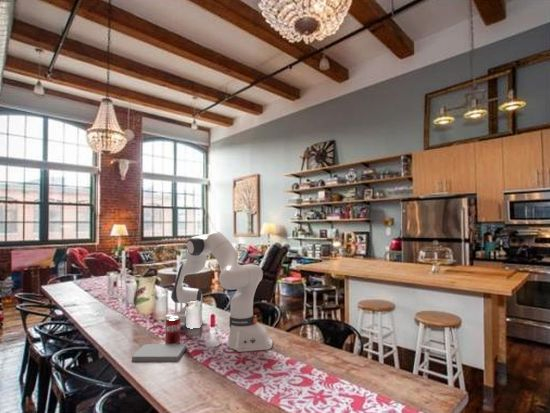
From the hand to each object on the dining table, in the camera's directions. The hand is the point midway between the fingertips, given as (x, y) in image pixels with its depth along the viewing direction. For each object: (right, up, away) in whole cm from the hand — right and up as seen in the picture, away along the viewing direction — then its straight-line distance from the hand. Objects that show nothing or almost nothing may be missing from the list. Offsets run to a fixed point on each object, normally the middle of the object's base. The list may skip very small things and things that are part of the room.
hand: (180, 321), depth 175 cm
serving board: (-1, -5, -27) cm, 28 cm away
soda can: (0, -6, -12) cm, 14 cm away
